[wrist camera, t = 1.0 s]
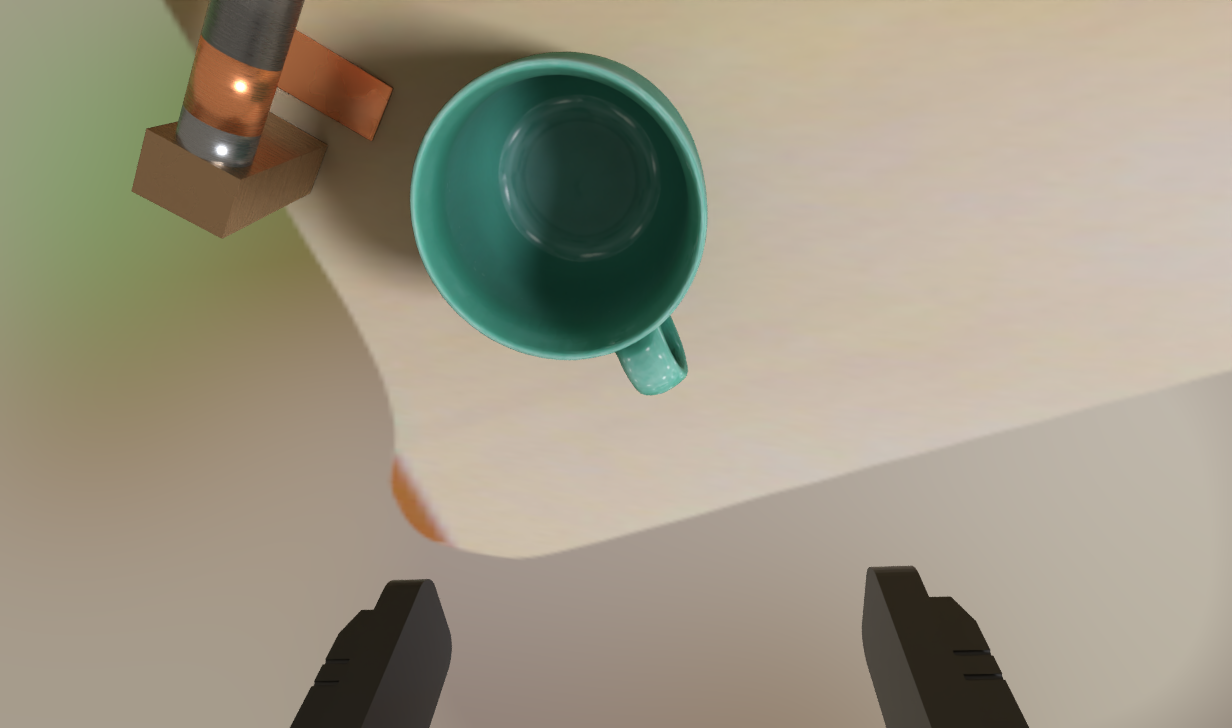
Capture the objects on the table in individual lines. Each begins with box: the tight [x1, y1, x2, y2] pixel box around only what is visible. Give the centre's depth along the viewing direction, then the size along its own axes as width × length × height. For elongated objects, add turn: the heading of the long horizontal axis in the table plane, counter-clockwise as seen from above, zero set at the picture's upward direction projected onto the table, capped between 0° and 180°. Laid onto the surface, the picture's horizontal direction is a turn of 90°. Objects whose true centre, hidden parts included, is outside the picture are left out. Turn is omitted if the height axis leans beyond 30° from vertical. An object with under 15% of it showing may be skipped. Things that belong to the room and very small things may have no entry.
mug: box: [410, 52, 707, 395], centre depth 32 cm, size 17×13×10 cm
